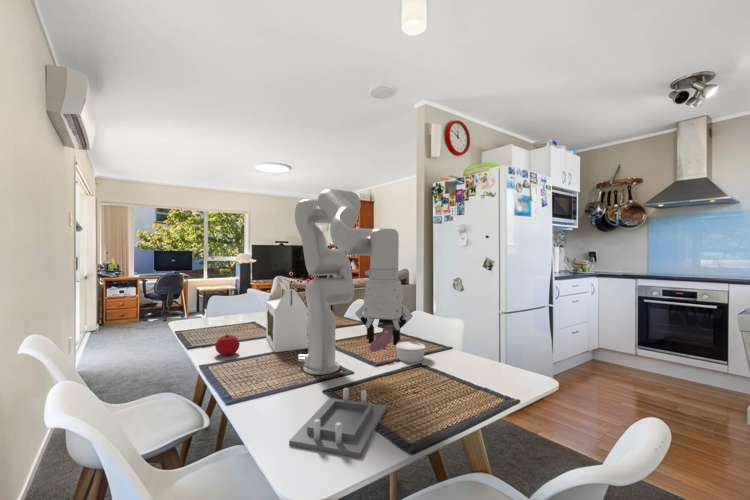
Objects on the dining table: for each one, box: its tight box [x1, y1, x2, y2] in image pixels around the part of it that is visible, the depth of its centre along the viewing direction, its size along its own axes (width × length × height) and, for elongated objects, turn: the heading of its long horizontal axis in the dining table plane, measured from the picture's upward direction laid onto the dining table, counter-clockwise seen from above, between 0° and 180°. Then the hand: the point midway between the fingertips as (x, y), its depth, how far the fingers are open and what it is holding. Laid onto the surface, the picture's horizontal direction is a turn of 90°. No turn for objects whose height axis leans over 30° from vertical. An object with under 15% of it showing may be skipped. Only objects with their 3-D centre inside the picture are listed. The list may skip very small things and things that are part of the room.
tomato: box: [214, 333, 240, 356], centre depth 137 cm, size 9×9×8 cm
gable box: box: [265, 278, 308, 353], centre depth 152 cm, size 22×13×28 cm, turn 26°
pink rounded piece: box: [369, 324, 395, 353], centre depth 92 cm, size 10×5×7 cm, turn 170°
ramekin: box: [395, 341, 427, 364], centre depth 133 cm, size 11×11×5 cm
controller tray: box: [288, 387, 387, 459], centre depth 83 cm, size 16×22×5 cm
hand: (383, 342), depth 92 cm, fingers closed on pink rounded piece, 6 cm apart
